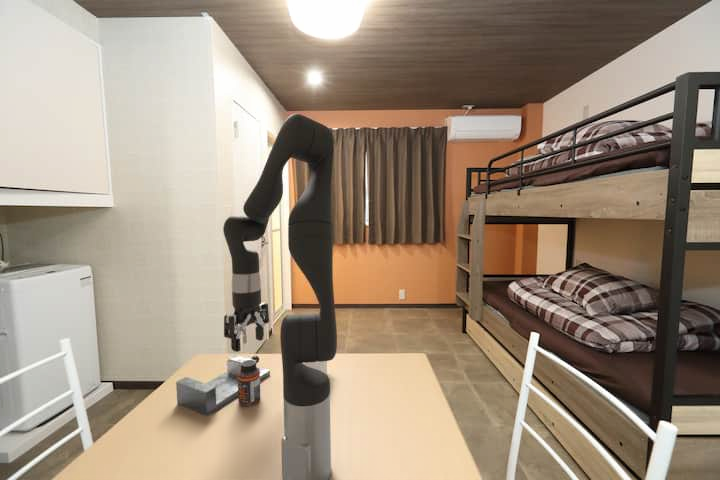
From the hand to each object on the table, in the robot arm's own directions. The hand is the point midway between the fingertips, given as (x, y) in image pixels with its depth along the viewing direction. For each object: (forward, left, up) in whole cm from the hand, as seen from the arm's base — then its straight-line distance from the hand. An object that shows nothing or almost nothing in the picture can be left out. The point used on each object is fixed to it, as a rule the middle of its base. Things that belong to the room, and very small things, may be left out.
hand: (248, 345), depth 91 cm
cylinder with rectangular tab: (+20, -8, -17) cm, 27 cm away
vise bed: (+2, +11, -16) cm, 20 cm away
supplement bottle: (0, 0, -17) cm, 17 cm away
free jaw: (+10, +11, -15) cm, 21 cm away
